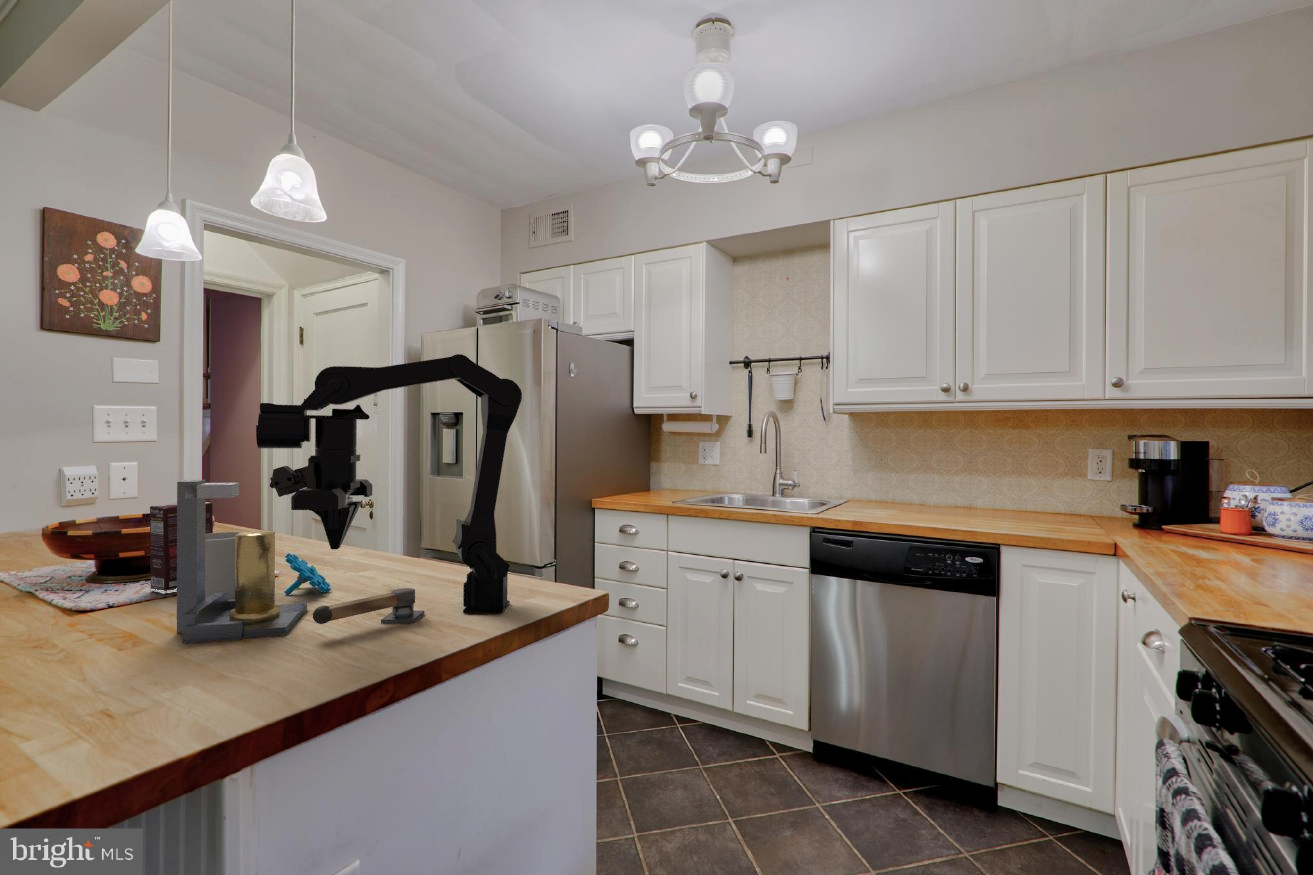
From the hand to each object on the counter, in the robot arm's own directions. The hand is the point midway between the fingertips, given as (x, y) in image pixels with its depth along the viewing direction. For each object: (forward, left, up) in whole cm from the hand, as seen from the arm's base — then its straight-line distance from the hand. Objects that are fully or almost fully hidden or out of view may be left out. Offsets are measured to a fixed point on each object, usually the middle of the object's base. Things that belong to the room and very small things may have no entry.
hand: (335, 548), depth 96 cm
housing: (+12, 0, -11) cm, 16 cm away
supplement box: (+39, -20, -12) cm, 45 cm away
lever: (-5, +1, -10) cm, 11 cm away
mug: (+27, -16, -12) cm, 34 cm away
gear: (+14, -19, -12) cm, 27 cm away
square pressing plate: (-9, -4, -12) cm, 16 cm away
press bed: (+14, +1, -12) cm, 19 cm away
